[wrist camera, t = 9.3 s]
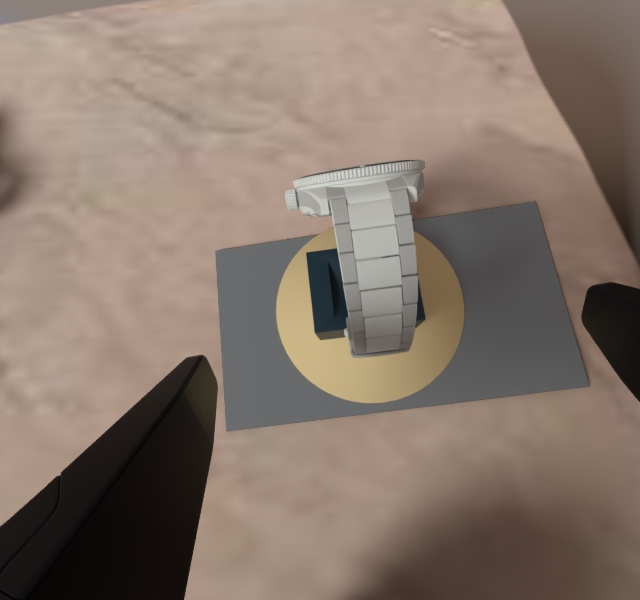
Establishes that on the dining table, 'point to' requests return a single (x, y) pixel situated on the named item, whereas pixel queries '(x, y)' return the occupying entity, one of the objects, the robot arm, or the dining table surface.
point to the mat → (430, 336)
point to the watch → (365, 255)
